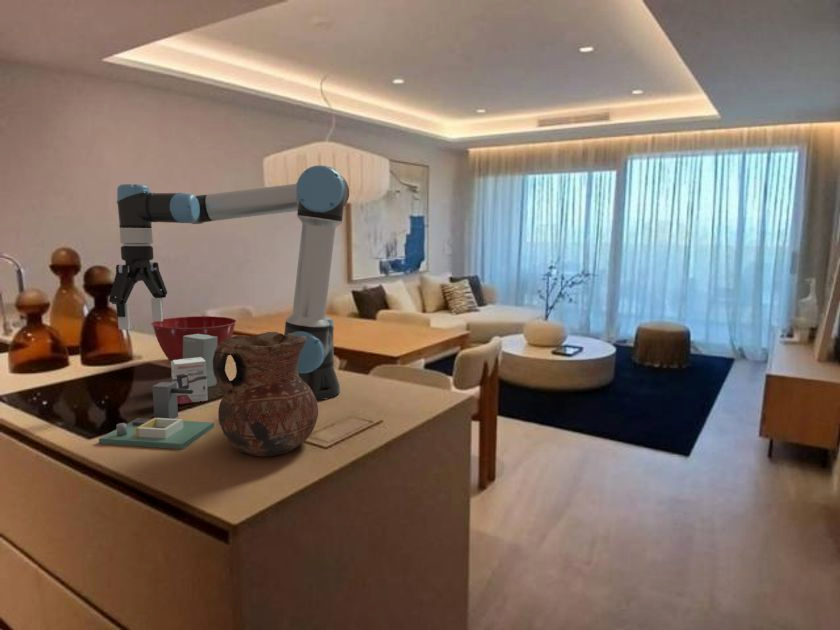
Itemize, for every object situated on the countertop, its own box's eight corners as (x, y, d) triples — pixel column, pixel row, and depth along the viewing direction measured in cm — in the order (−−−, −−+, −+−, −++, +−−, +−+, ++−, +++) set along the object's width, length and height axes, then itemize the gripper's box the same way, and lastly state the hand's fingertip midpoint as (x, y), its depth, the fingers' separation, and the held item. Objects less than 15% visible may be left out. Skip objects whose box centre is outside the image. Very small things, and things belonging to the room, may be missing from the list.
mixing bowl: (219, 351, 219) (217, 313, 217) (250, 364, 199) (249, 322, 196) (143, 361, 200) (140, 319, 198) (169, 376, 180) (167, 330, 177)
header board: (214, 427, 134) (213, 413, 133) (182, 449, 120) (181, 433, 120) (138, 422, 136) (137, 408, 136) (99, 443, 123) (97, 428, 122)
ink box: (175, 405, 150) (173, 363, 149) (172, 400, 154) (170, 360, 153) (208, 400, 155) (206, 360, 153) (204, 396, 159) (202, 356, 157)
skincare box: (181, 386, 168) (179, 336, 166) (199, 381, 175) (196, 332, 172) (203, 390, 165) (200, 338, 163) (220, 384, 172) (218, 334, 169)
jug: (264, 423, 137) (261, 325, 133) (336, 436, 129) (335, 332, 125) (197, 455, 117) (191, 341, 113) (277, 473, 109) (274, 350, 105)
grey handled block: (198, 417, 141) (196, 383, 139) (190, 422, 137) (188, 388, 135) (161, 415, 142) (159, 381, 141) (152, 420, 138) (150, 386, 137)
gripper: (153, 244, 156) (158, 317, 159) (88, 245, 131) (95, 332, 134) (177, 244, 155) (181, 318, 158) (116, 246, 130) (122, 333, 133)
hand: (141, 325), depth 146 cm, fingers open, 13 cm apart
